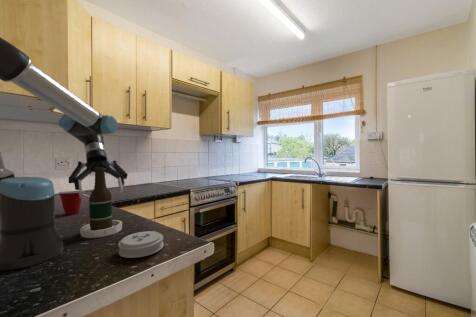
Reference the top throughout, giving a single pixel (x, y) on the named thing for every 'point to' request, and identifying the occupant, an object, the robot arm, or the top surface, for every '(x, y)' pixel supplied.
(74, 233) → the top surface
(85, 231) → the dish
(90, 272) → the top surface
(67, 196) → the plastic cup
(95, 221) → the beer bottle
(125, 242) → the lid
